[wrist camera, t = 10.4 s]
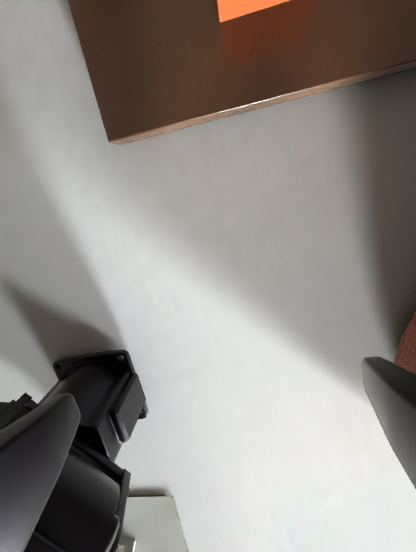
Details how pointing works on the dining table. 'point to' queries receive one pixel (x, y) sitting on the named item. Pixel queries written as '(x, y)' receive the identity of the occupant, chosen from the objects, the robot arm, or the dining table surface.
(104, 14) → the board
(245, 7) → the terracotta block
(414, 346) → the planter
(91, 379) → the robot arm
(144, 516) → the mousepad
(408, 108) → the dining table surface
